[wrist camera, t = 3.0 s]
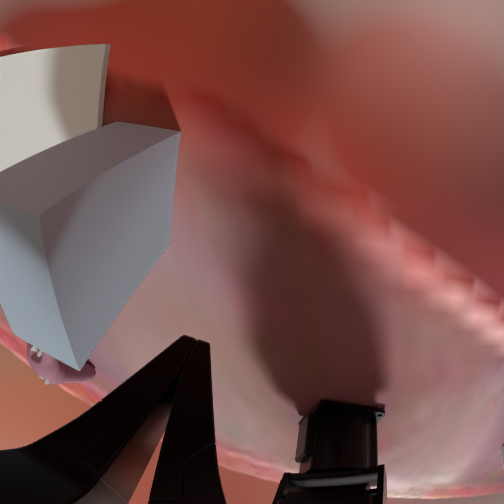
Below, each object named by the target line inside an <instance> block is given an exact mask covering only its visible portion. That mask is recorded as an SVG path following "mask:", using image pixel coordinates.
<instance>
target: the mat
mask: <svg viewBox="0 0 504 504" xmlns="http://www.w3.org/2000/svg"><path fill="white" fill-rule="evenodd" d="M110 48H111V44H92V45H79V46H67V47H57V48H49V49H41V50H35V51H28V52H22V53H17V54H12V55H7V56H2V57H0V172H1V171H3V170H5V169H7V168H9V167H10V166H12V165H14V164H16V163H18V162H20V161H22V160H24V159H26V158H29V157H31V156H33V155H35V154H37V153H39V152H41V151H43V150H46V149H48V148H50V147H52V146H55V145H57V144H59V143H62V142H64V141H66V140H69V139H71V138H74V137H76V136H79V135H81V134H84V133H87V132H89V131H92V130H95V129H97V128H100V127H102V123H103V109H104V97H105V87H106V78H107V69H108V61H109V55H110Z"/></svg>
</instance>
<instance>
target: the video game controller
mask: <svg viewBox="0 0 504 504" xmlns="http://www.w3.org/2000/svg"><path fill="white" fill-rule="evenodd" d="M27 357H28V360H29V363H30V365H31V367H32V368H33V370H34V372H35V373H36V374H37V375H38V376H39V377H40V378H42V379H44V381H45V384H49V383H51V384H55V385H56V384H62V383H81V382H87V381H90V380H92V379H93V378H94V377H95V374H96V371H95V369H94V367H93V366H91V365H90V364H88V363H85V364H84V366H83V367H82V369H81V370H80V371H78V370H76V369H74V368H72V367H71V366H69V365H67V364H65V363H63V362H61V361H59V360H57V359H56V358H54V357H52V356H50V355H48V354H47V353H45V352H43V351H41V350H40V349H38V348H36V347H34V346H33V345H31V344H29V343H28V344H27Z"/></svg>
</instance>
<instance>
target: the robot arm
mask: <svg viewBox="0 0 504 504" xmlns="http://www.w3.org/2000/svg"><path fill="white" fill-rule="evenodd" d="M384 416H385V410H384V409H377V408H370V407H363V406H356V405H350V404H344V403H338V402H332V401H326V400H324V401H321V402H320V403H319V404H318V405H317V407H316V408H315V409H314V410H313V412H312V413H311V414H309V415H308V416H307V417H306V418H305V419H304V421H303V422H302V423H301V424H300V426H299V434H298V442H297V449H296V457H295V461H296V462H298V463H300V470H299V473H284V475H283V477H282V480H281V481H280V484H279V487H278V489H277V492H276V495H275V498H274V500H273V503H272V504H386V500H387V477H386V471H385V466H384V464H383V465H378V451H377V422H378V421H379V420H381V419H382V418H383V417H384ZM165 429H166V430H165ZM164 431H165V434H164V438H163V442H162V446H161V450H160V455H159V459H158V463H157V467H156V471H155V475H154V479H153V484H152V488H151V492H150V497H149V499H150V500H149V502H148V504H226V501H225V497H224V493H223V489H222V485H221V480H220V475H219V469H218V461H217V452H216V444H215V443H216V440H215V427H214V412H213V395H212V377H211V356H210V344H209V343H208V342H205V341H202V340H196V339H195V338H193V337H189V336H186V335H183V336H181V337H180V338H179V339H177V340H176V341H175V342H174V343H172V344H171V345H170V346H169V347H167V348H166V349H165V350H164V351H162V352H161V353H160V354H159V355H157V356H156V357H155V358H154V359H152V360H151V361H150V362H149V363H147V364H146V365H145V366H144V367H142V368H141V369H140V370H139V371H137V372H136V373H135V374H134V375H132V376H131V377H130V378H129V379H127V380H126V381H125V382H123V383H122V384H121V385H120V386H118V387H117V388H116V389H115V390H113V391H112V392H111V393H109V394H108V395H107V396H106V397H104V398H103V399H102V402H101V401H99V402H98V403H96V404H95V405H94V406H93V407H91V408H90V409H89V410H87V411H86V412H84V413H83V414H82V415H80V416H79V417H77V418H76V419H74V420H73V421H71V422H69V423H68V424H66V425H64V426H62V427H61V428H59V429H57V430H55V431H54V432H52V433H50V434H48V435H46V436H45V437H43V438H41V439H39V440H37V441H36V442H33V443H31V444H29V445H27V446H24V447H21V448H16V449H7V450H0V504H128V503H129V501H130V499H131V497H132V495H133V493H134V491H135V489H136V487H137V485H138V483H139V481H140V479H141V477H142V475H143V473H144V471H145V469H146V467H147V465H148V463H149V461H150V459H151V457H152V455H153V453H154V451H155V449H156V447H157V445H158V443H159V441H160V439H161V437H162V435H163V433H164ZM371 486H377V488H376V489H370V487H371Z"/></svg>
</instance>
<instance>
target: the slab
mask: <svg viewBox="0 0 504 504" xmlns="http://www.w3.org/2000/svg"><path fill="white" fill-rule="evenodd" d="M180 137H181V131H176V130H170V129H164V128H158V127H152V126H145V125H139V124H132V123H125V122H114V123H111V124H108V125H106V126H103V127H100V128H97V129H95V130H92V131H89V132H87V133H84V134H81V135H79V136H76V137H74V138H71V139H69V140H66V141H64V142H62V143H59V144H57V145H55V146H52V147H50V148H48V149H46V150H43V151H41V152H39V153H37V154H35V155H33V156H31V157H29V158H26V159H24V160H22V161H20V162H18V163H16V164H14V165H12V166H10V167H9V168H7V169H5V170H3V171H1V172H0V303H1V306H2V308H3V310H4V313H5V315H6V318H7V320H8V322H9V324H10V327H11V329H12V331H13V333H14V334H15V335H17V336H18V337H20V338H21V339H23V340H25V341H26V342H28V343H29V344H31V345H33V346H34V347H36V348H38V349H40V350H41V351H43V352H45V353H47V354H48V355H50V356H52V357H54V358H56V359H57V360H59V361H61V362H63V363H65V364H67V365H69V366H71V367H72V368H74V369H76V370H78V371H80V370H81V369H82V367H83V366H84V364H85V363H86V361H87V360H88V358H89V357H90V355H91V354H92V352H93V350H94V349H95V347H96V346H97V344H98V343H99V342H100V340H101V339H102V337H103V336H104V334H105V333H106V331H107V330H108V328H109V327H110V325H111V324H112V323H113V321H114V320H115V318H116V317H117V315H118V314H119V312H120V311H121V310H122V308H123V307H124V305H125V304H126V303H127V301H128V300H129V298H130V297H131V296H132V294H133V293H134V292H135V290H136V289H137V287H138V286H139V285H140V283H141V282H142V281H143V279H144V278H145V277H146V275H147V274H148V272H149V271H150V270H151V268H152V267H153V266H154V264H155V263H156V262H157V261H158V259H159V258H160V257H161V255H162V254H163V253H164V251H165V250H166V249H167V247H168V246H169V245H170V233H171V220H172V209H173V198H174V188H175V178H176V169H177V161H178V153H179V145H180Z"/></svg>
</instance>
